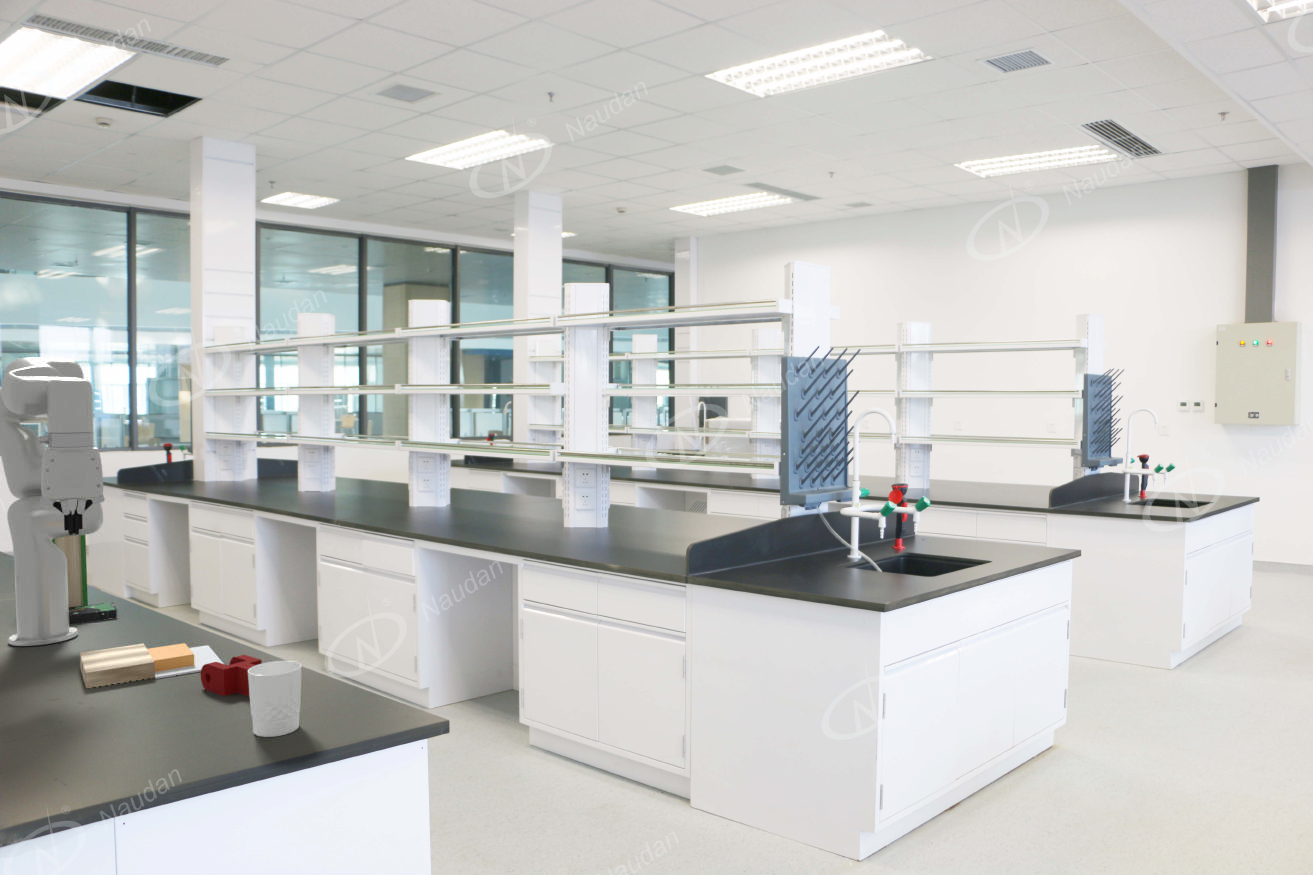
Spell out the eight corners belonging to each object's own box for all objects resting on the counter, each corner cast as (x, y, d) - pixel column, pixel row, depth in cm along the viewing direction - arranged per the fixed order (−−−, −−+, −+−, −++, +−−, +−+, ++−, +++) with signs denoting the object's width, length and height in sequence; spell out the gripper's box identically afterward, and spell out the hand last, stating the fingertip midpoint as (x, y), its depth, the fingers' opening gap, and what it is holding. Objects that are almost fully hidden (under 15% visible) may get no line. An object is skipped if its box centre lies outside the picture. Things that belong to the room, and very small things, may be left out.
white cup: (313, 723, 145) (312, 662, 145) (278, 741, 138) (276, 677, 138) (274, 718, 148) (273, 658, 148) (237, 735, 141) (236, 672, 140)
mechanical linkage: (201, 688, 164) (200, 661, 164) (238, 678, 170) (237, 652, 169) (249, 706, 155) (248, 677, 154) (287, 694, 160) (286, 666, 160)
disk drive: (43, 630, 208) (118, 619, 216) (43, 618, 208) (117, 608, 216) (42, 621, 216) (113, 611, 225) (41, 610, 216) (113, 600, 225)
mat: (143, 656, 184) (143, 654, 184) (208, 646, 191) (208, 645, 191) (155, 678, 169) (155, 676, 169) (225, 667, 176) (225, 665, 176)
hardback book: (88, 609, 225) (84, 514, 224) (52, 614, 220) (49, 517, 219) (72, 598, 238) (69, 508, 237) (38, 603, 233) (35, 511, 232)
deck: (80, 667, 176) (79, 652, 176) (144, 657, 183) (143, 643, 183) (86, 688, 163) (85, 672, 163) (154, 677, 170) (154, 661, 170)
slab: (146, 659, 180) (146, 648, 180) (185, 653, 184) (184, 643, 184) (154, 671, 172) (153, 660, 172) (194, 665, 176) (194, 654, 176)
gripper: (25, 443, 169) (28, 540, 171) (117, 441, 178) (119, 533, 180) (23, 441, 175) (26, 534, 177) (112, 439, 184) (115, 527, 186)
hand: (73, 533), depth 178 cm, fingers closed
